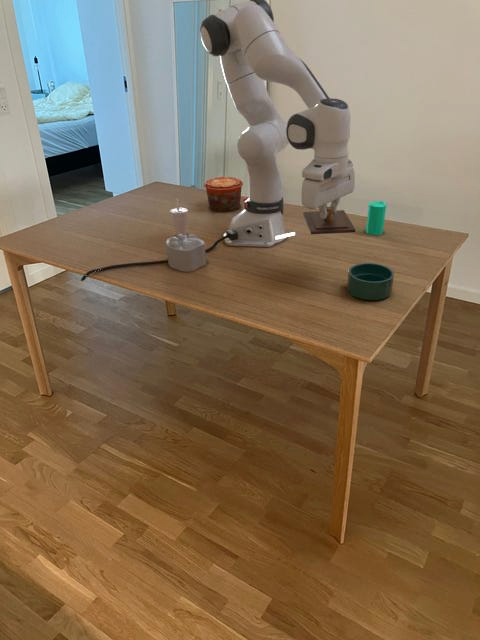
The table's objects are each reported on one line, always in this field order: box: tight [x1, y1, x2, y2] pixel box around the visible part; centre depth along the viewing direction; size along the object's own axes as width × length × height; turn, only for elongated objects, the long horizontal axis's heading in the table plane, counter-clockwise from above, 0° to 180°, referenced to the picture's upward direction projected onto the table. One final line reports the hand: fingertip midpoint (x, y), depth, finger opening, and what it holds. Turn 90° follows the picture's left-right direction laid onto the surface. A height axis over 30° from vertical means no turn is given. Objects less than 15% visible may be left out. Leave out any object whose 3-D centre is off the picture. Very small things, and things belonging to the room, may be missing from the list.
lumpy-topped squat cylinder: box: [165, 233, 207, 273], centre depth 159 cm, size 10×13×9 cm
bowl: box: [346, 262, 395, 301], centre depth 139 cm, size 12×12×6 cm
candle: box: [365, 200, 387, 236], centre depth 175 cm, size 6×6×12 cm
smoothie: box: [169, 198, 189, 236], centre depth 178 cm, size 6×6×14 cm
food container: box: [203, 176, 244, 213], centre depth 204 cm, size 16×16×11 cm
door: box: [302, 206, 356, 235], centre depth 138 cm, size 12×16×4 cm
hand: (328, 215), depth 138 cm, fingers closed on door, 2 cm apart
